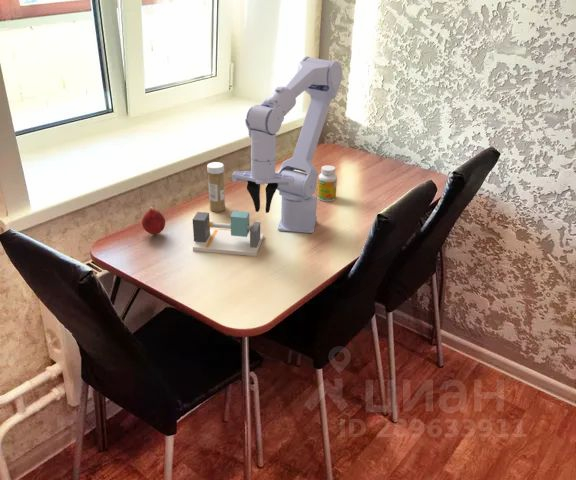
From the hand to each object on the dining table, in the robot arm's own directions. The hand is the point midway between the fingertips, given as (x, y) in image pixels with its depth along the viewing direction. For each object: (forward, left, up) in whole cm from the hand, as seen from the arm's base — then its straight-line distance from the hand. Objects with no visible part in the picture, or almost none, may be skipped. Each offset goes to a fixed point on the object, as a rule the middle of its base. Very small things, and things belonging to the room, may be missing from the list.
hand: (262, 210), depth 140 cm
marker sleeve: (+6, 0, -7) cm, 9 cm away
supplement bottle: (-13, -32, -11) cm, 37 cm away
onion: (+29, -1, -11) cm, 31 cm away
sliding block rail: (+9, 0, -10) cm, 14 cm away
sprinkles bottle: (+17, -19, -11) cm, 28 cm away
